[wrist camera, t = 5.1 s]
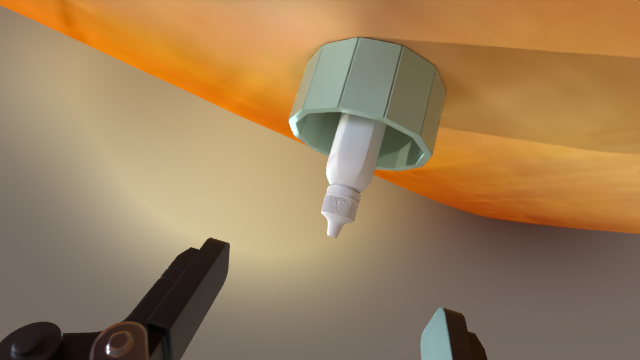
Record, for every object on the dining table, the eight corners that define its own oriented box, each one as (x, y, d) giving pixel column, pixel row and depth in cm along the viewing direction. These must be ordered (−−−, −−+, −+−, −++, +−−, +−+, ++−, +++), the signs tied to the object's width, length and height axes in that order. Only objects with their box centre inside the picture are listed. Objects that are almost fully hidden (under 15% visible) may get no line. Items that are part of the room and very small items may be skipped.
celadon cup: (315, 103, 30) (299, 151, 29) (300, 25, 20) (277, 93, 19) (423, 128, 29) (412, 179, 28) (466, 57, 19) (451, 132, 18)
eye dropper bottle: (333, 86, 26) (290, 226, 24) (369, 56, 21) (320, 229, 18) (375, 108, 28) (340, 241, 25) (419, 85, 23) (380, 248, 20)
